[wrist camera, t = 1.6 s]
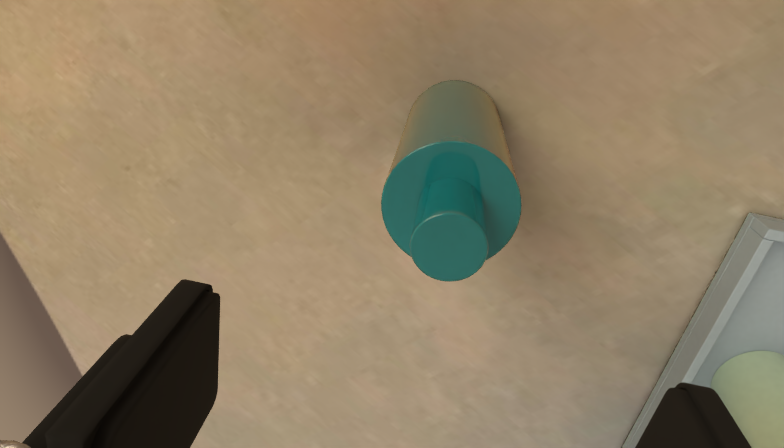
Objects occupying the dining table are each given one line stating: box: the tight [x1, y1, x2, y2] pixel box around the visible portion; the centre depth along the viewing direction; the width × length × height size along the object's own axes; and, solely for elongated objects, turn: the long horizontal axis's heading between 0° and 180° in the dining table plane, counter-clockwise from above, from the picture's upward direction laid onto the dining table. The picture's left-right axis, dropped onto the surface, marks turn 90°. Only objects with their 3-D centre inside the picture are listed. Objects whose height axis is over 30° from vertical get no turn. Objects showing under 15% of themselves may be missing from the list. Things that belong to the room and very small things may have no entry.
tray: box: [622, 213, 784, 448], centre depth 32 cm, size 21×10×2 cm, turn 170°
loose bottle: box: [381, 80, 522, 281], centre depth 22 cm, size 5×5×14 cm
